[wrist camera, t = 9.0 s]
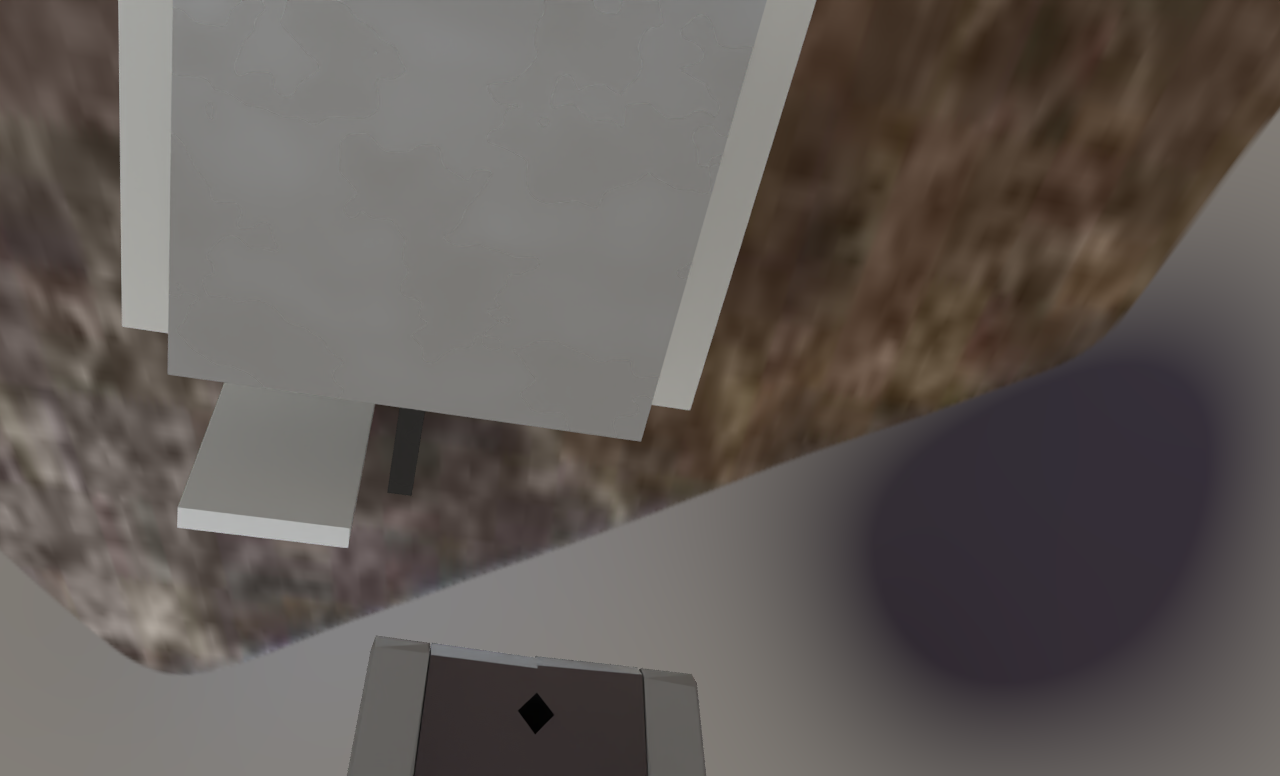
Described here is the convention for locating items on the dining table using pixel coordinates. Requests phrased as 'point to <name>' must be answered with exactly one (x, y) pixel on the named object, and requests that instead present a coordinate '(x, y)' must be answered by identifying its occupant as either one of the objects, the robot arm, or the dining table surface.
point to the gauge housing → (339, 429)
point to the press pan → (445, 199)
